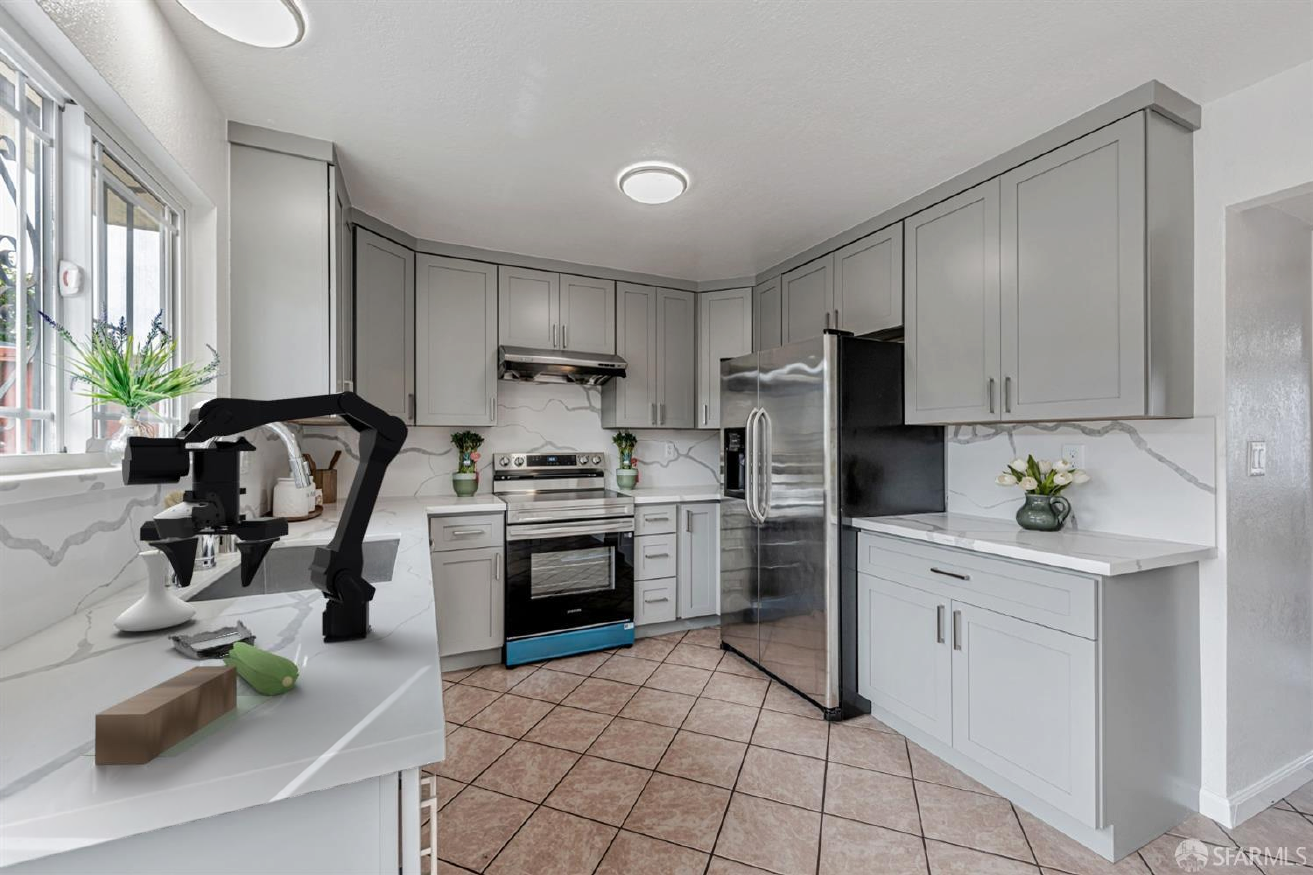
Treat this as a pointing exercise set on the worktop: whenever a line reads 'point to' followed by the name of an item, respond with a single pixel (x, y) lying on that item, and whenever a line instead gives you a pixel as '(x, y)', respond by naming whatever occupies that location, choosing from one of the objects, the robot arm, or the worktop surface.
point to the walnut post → (164, 715)
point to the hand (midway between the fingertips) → (215, 586)
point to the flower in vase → (156, 593)
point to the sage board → (213, 725)
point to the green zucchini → (263, 669)
